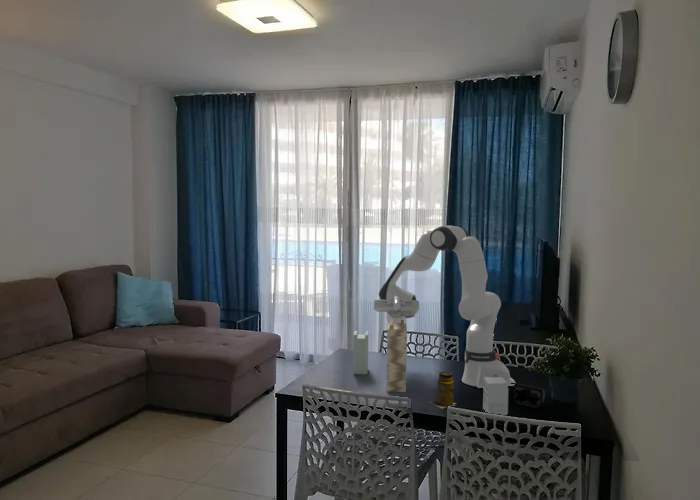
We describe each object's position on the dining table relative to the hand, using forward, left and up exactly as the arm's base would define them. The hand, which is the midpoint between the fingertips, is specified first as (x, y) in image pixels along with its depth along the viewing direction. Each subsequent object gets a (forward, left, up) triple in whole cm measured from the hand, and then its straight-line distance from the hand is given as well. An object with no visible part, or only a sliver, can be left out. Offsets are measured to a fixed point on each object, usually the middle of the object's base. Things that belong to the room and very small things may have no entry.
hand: (396, 299), depth 230 cm
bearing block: (0, +11, -35) cm, 37 cm away
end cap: (-51, +26, -36) cm, 67 cm away
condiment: (-18, +29, -36) cm, 49 cm away
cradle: (+16, -9, -35) cm, 40 cm away
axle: (0, +6, -2) cm, 7 cm away
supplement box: (-36, +37, -36) cm, 63 cm away
